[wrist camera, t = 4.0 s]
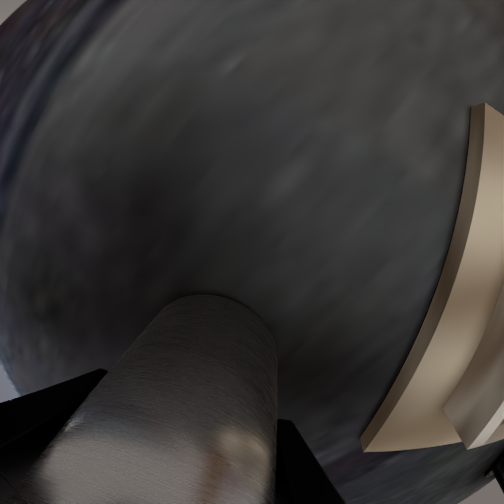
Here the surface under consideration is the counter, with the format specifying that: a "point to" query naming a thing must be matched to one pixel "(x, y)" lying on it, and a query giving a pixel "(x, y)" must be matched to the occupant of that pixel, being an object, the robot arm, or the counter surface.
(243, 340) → the aluminium peg
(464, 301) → the square peg hole base
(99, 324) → the counter surface
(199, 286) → the counter surface
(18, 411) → the robot arm
